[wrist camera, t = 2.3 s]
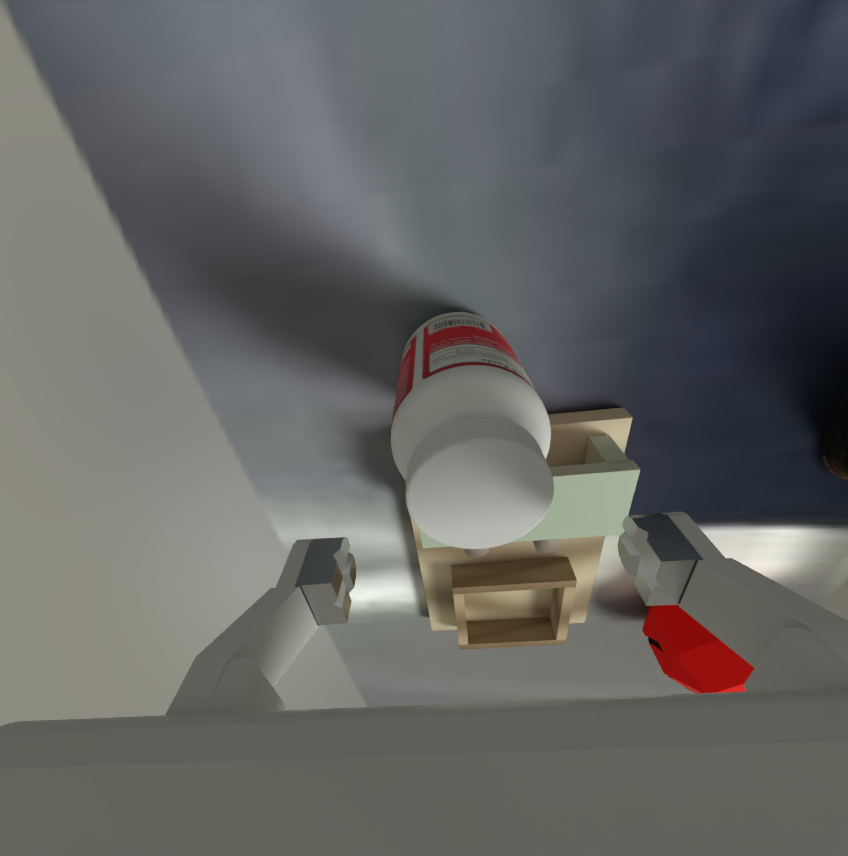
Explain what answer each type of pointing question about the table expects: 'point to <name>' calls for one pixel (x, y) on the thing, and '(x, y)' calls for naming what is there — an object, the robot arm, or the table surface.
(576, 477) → the housing cover
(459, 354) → the pill bottle
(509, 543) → the base
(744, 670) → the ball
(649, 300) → the table surface
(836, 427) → the figurine
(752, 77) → the table surface
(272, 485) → the table surface
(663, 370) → the table surface
